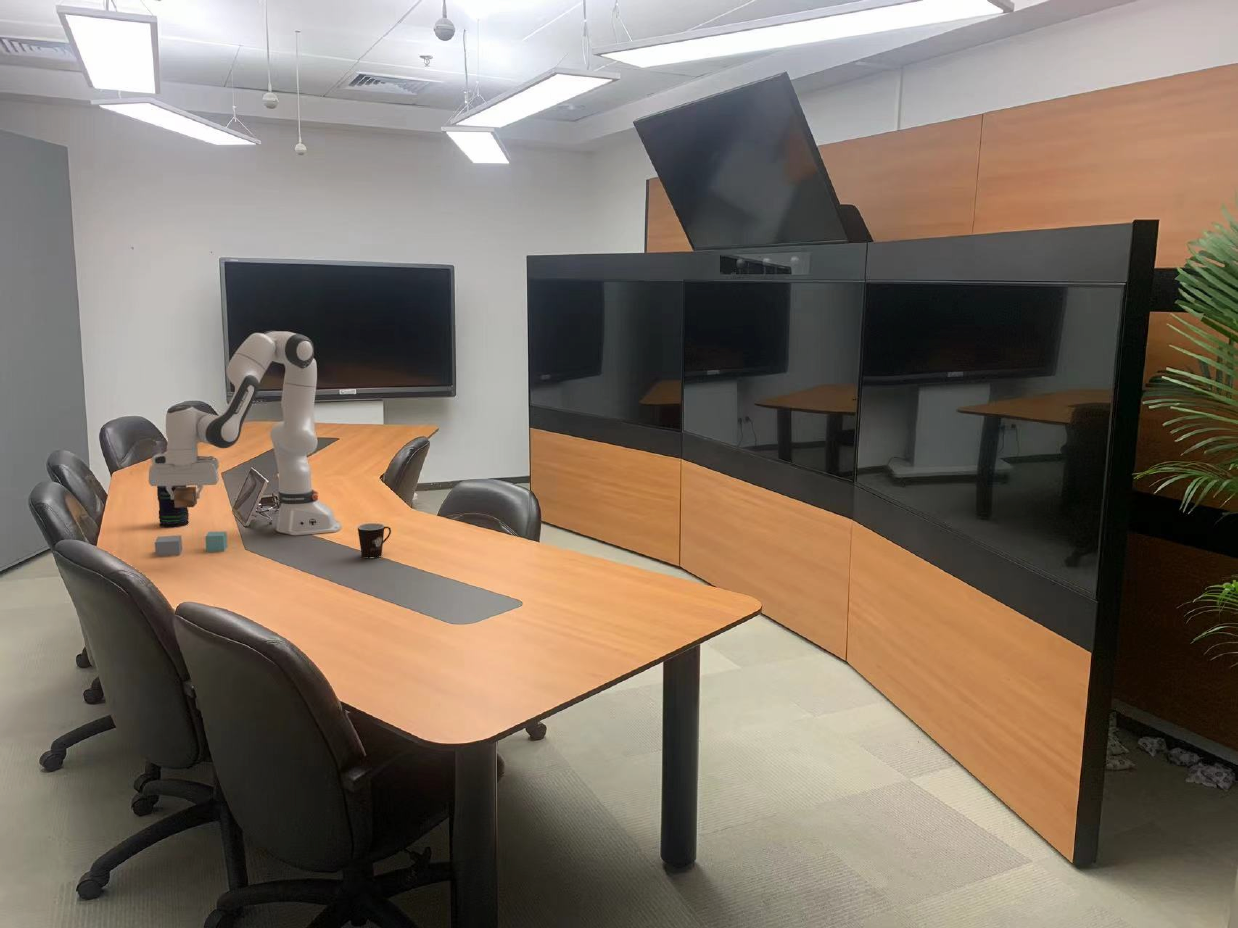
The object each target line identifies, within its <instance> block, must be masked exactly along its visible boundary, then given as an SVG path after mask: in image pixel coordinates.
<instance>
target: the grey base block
mask: <svg viewBox="0 0 1238 928" xmlns="http://www.w3.org/2000/svg"><path fill="white" fill-rule="evenodd" d="M182 540H183V539H182V535H166V536H165V535H163V536H162V535H161V536H160V535H159V536H157V538H156V540H155V541H154V549H155V550H154V551H155V557H156V556H160V557H169V555H175V556H180V555H181V552H182V551H183V544H182V543H183V541H182ZM167 555H168V556H167Z"/></svg>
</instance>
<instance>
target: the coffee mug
mask: <svg viewBox="0 0 1238 928" xmlns="http://www.w3.org/2000/svg"><path fill="white" fill-rule="evenodd" d="M386 529H387V530H388V535H387V536H386V538H384V536H385V535H384V534H385V530H386ZM357 533H358V539H359V547H360V552H361V553H360V554H361V557H362V558H363V557H368V558H370V557H378V558H380V557H379V556H381V555H382V556H383V546H384V543H385V542H386V541H388V539H389V538H390V536H391V534H392V529H391V527H389V526H385V525H384V524H382V523H377V522H374V523H372V522H371V523H362V524H359V525H358V526H357ZM382 556H381V557H382ZM368 558H367V559H368Z"/></svg>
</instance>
